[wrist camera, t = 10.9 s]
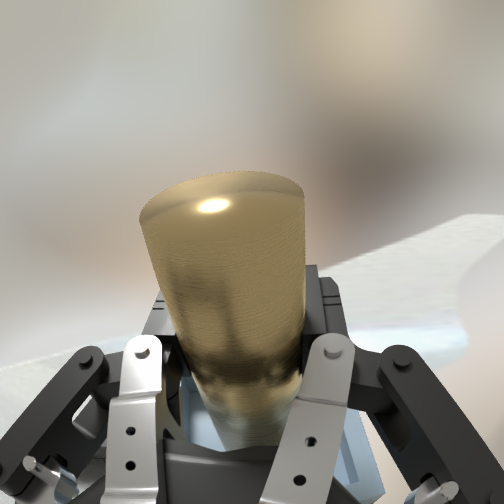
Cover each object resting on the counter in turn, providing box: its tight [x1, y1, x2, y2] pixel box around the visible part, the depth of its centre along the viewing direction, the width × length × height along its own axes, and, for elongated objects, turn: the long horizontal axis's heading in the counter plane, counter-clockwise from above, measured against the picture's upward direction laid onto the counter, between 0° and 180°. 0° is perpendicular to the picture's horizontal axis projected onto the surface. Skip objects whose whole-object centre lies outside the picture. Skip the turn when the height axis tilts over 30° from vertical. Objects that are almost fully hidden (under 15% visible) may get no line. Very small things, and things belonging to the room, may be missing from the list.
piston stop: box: [139, 171, 305, 451], centre depth 11 cm, size 4×4×13 cm
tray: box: [180, 376, 385, 504], centre depth 15 cm, size 10×10×3 cm
